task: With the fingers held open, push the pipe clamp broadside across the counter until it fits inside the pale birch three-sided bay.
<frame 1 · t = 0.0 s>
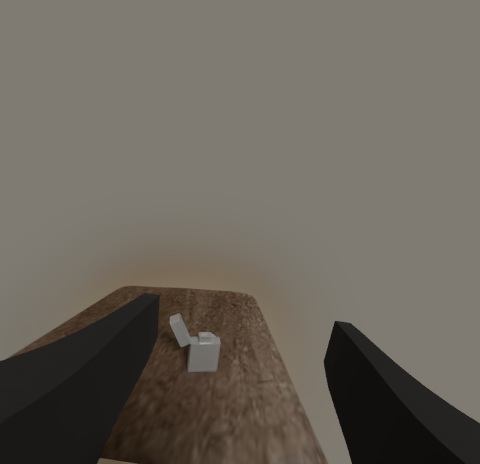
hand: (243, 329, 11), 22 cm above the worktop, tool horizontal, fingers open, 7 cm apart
lighter: (191, 368, 40), on the worktop
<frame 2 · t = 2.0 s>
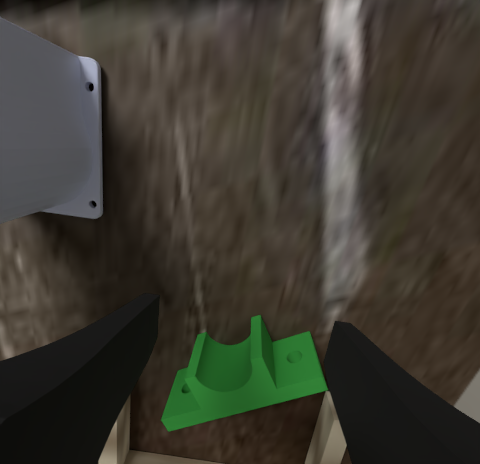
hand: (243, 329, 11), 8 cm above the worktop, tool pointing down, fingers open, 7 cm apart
pipe clamp: (239, 342, 22), on the worktop
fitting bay: (221, 422, 24), on the worktop
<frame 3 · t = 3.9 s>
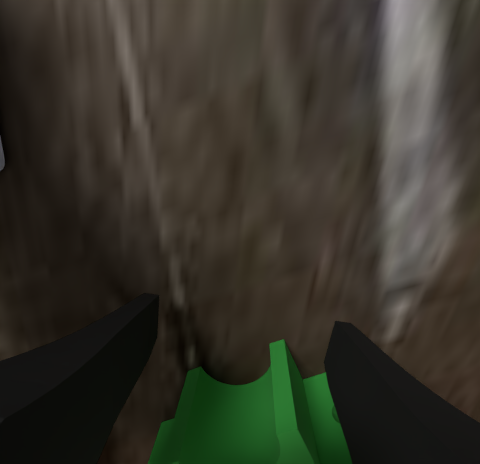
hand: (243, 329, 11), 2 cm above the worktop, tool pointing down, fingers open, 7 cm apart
pipe clamp: (252, 381, 15), on the worktop, touching gripper
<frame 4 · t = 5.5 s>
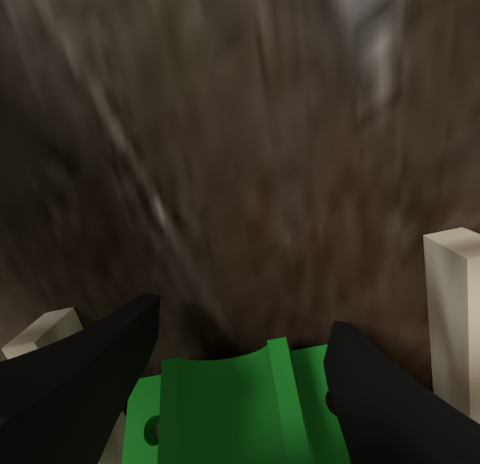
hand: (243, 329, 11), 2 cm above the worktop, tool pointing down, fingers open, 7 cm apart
pipe clamp: (235, 353, 13), point 1 cm above the worktop, touching gripper
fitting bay: (260, 363, 14), on the worktop
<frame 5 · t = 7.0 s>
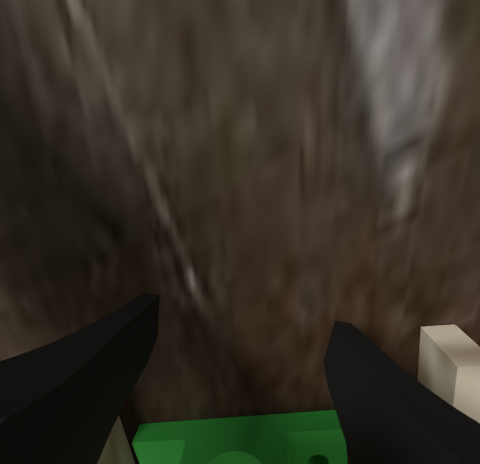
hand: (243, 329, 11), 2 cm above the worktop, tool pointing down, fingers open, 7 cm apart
pipe clamp: (234, 445, 14), point 2 cm above the worktop
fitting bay: (261, 416, 15), on the worktop
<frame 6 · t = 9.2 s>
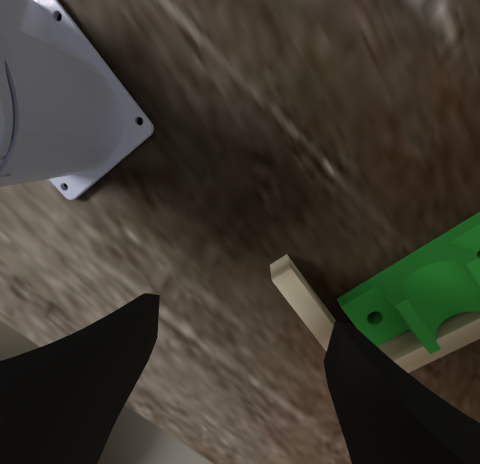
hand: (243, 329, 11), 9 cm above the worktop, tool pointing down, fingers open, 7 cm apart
pipe clamp: (416, 265, 18), point 2 cm above the worktop
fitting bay: (422, 246, 20), on the worktop
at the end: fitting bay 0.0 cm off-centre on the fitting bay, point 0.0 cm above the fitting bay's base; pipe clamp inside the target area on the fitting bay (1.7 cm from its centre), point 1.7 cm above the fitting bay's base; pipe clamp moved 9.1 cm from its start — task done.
